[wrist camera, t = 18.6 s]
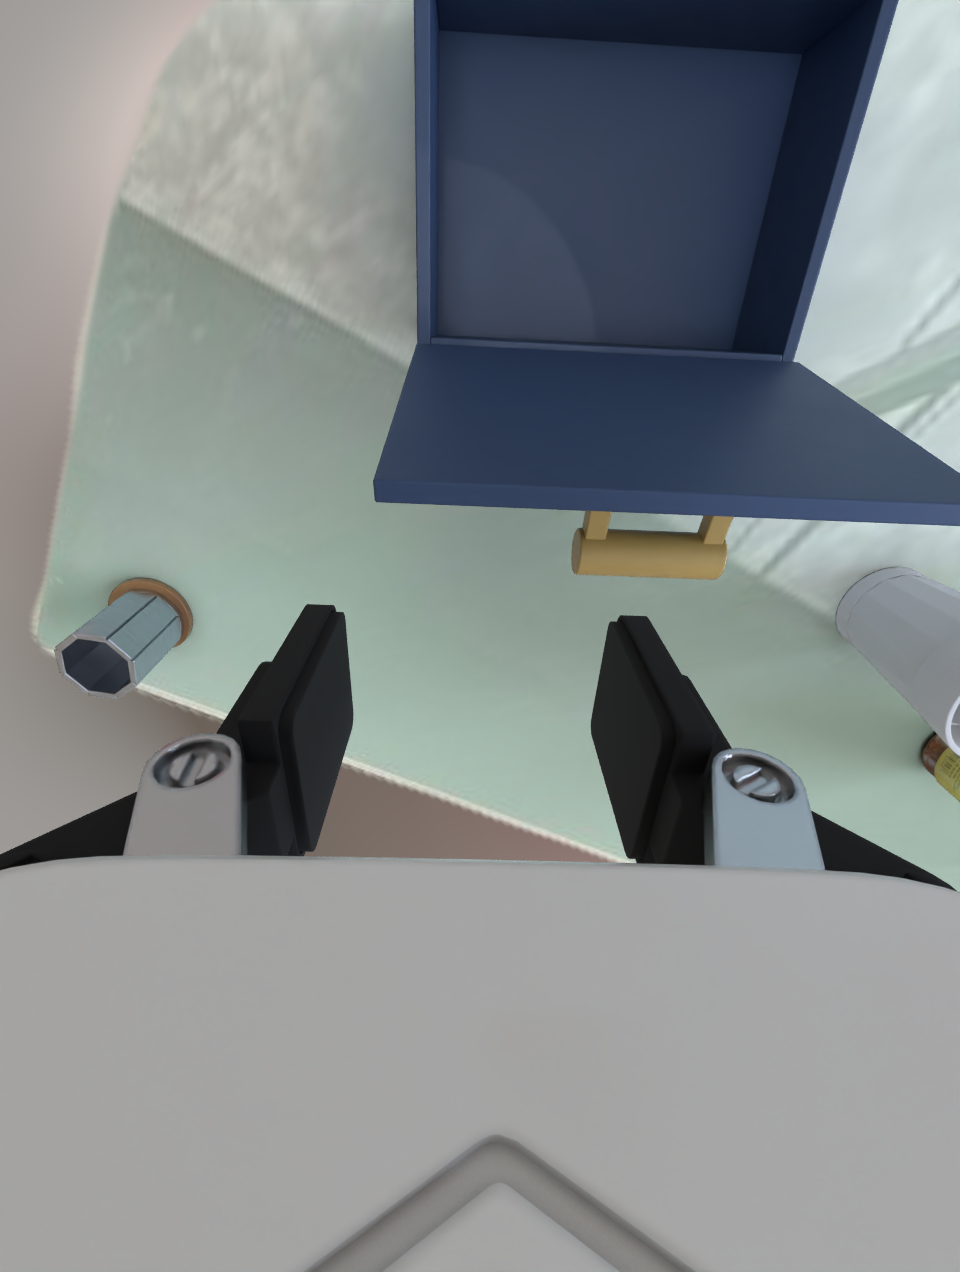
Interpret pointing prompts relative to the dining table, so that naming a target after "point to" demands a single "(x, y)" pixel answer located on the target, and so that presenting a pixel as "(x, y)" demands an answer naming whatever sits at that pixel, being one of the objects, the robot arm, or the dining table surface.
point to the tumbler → (120, 644)
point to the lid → (650, 449)
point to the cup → (910, 641)
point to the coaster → (163, 590)
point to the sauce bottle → (943, 765)
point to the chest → (633, 169)
